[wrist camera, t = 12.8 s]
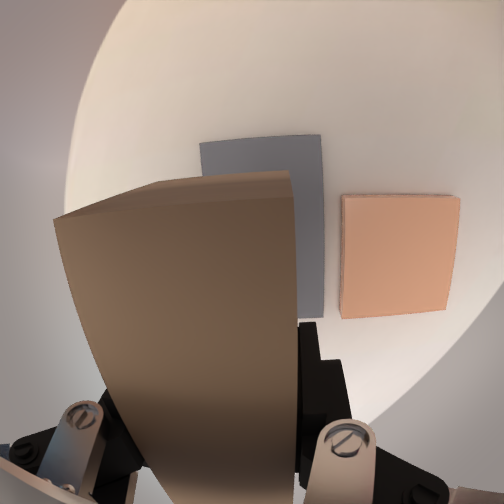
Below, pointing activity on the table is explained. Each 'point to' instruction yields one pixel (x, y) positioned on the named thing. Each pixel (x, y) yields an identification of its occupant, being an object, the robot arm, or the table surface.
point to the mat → (304, 191)
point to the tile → (397, 253)
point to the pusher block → (196, 328)
